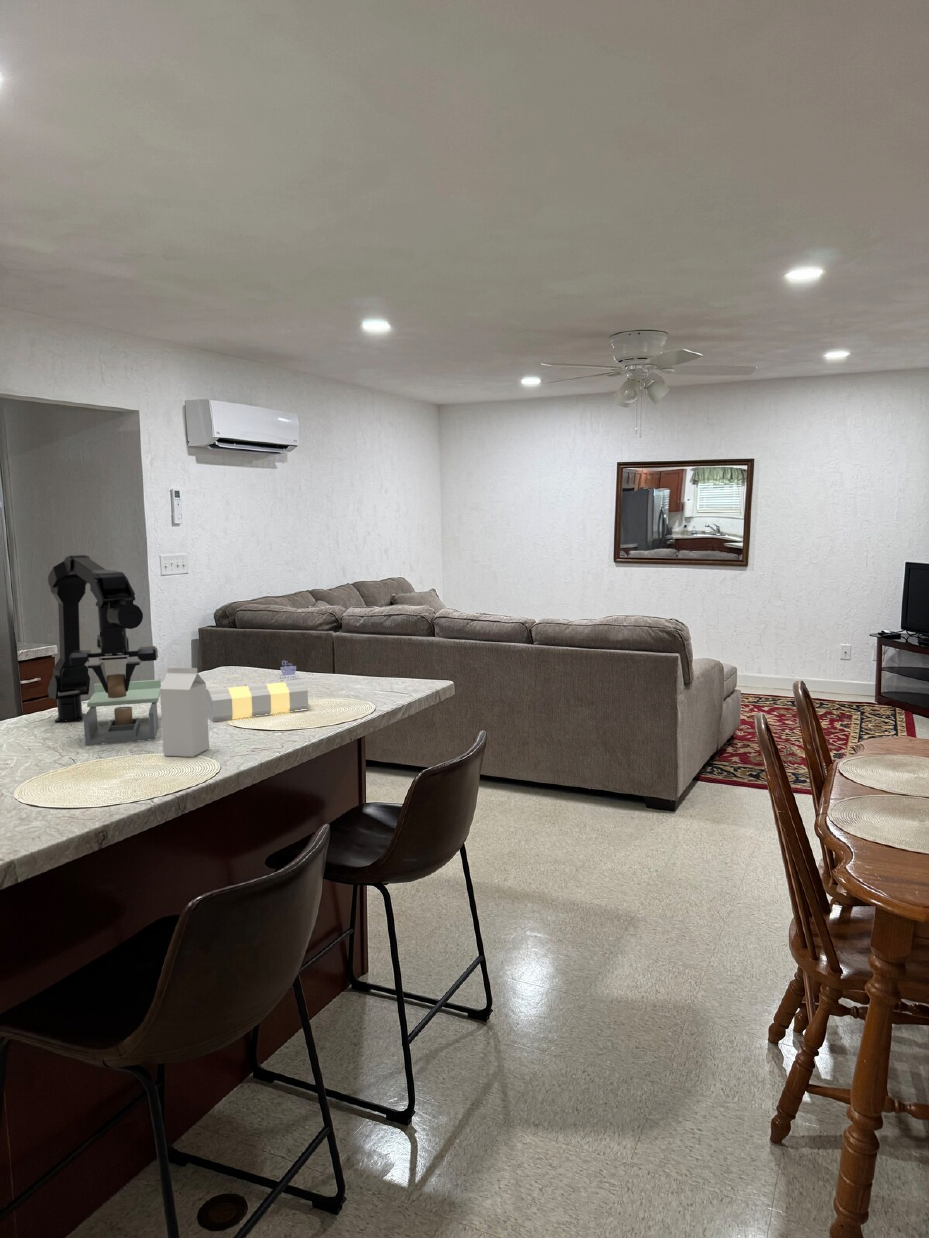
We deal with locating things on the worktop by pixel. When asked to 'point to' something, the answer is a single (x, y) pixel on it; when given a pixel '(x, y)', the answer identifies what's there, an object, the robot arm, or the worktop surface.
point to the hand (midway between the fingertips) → (117, 692)
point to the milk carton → (184, 713)
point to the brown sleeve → (116, 686)
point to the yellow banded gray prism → (257, 698)
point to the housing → (120, 727)
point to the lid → (128, 694)
